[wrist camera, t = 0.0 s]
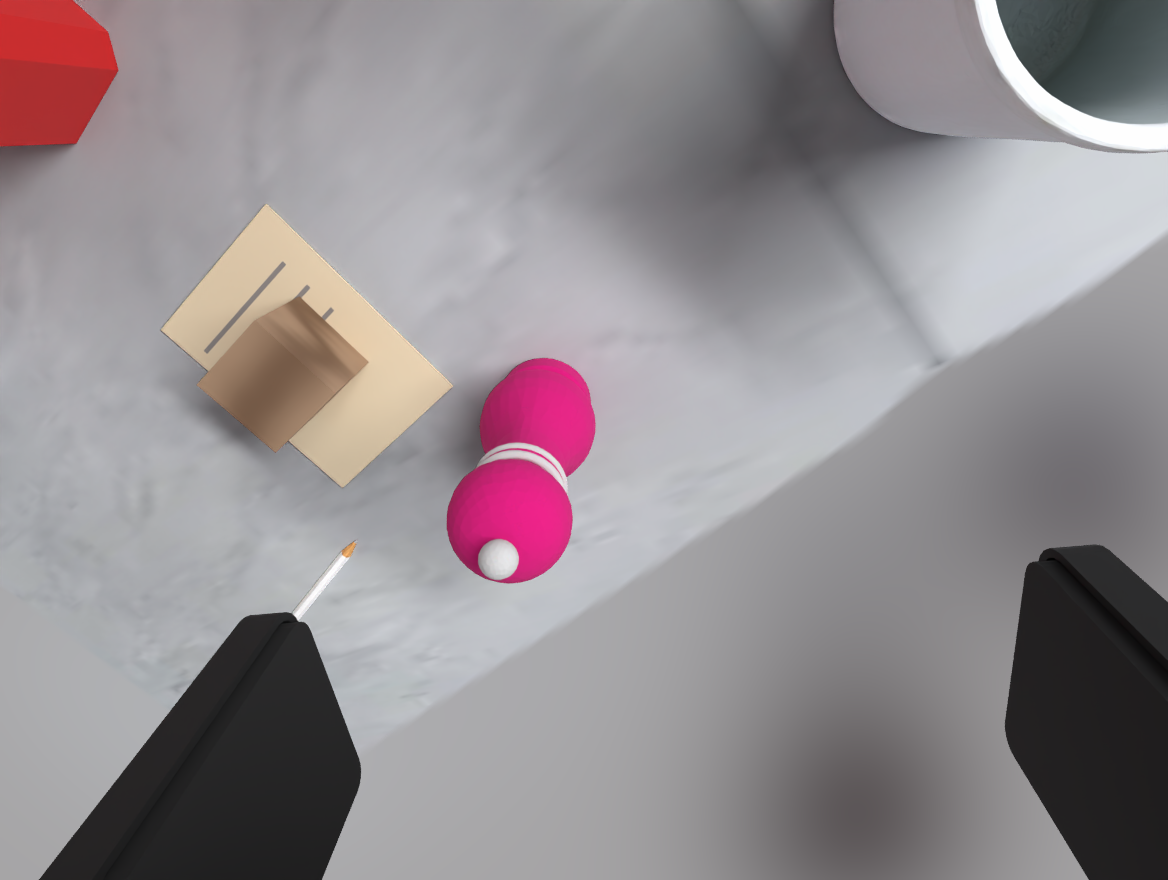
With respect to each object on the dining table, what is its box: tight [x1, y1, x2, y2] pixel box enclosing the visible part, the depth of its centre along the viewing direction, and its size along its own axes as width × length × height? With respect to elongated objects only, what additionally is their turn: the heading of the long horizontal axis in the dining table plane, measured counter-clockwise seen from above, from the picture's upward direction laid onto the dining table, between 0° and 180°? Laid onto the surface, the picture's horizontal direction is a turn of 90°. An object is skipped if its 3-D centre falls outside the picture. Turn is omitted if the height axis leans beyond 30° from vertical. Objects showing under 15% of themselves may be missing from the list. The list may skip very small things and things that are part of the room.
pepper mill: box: [447, 358, 595, 583], centre depth 39 cm, size 7×7×20 cm
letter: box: [161, 204, 453, 488], centre depth 47 cm, size 16×12×1 cm
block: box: [197, 296, 369, 453], centre depth 45 cm, size 6×6×6 cm
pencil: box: [292, 540, 357, 621], centre depth 57 cm, size 1×19×1 cm, turn 141°
